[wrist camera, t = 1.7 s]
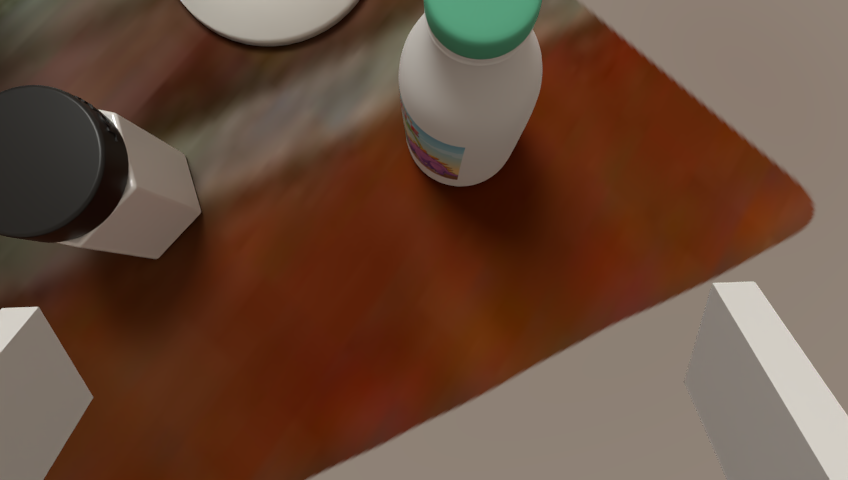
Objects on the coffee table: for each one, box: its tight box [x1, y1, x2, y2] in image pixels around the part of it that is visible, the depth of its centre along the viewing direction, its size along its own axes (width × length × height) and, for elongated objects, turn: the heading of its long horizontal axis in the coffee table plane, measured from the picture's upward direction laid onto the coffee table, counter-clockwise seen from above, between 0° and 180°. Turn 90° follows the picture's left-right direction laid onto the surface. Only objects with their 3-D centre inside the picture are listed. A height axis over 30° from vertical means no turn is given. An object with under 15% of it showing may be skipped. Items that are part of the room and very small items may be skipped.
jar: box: [0, 85, 201, 259], centre depth 36 cm, size 9×8×12 cm
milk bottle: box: [399, 0, 542, 186], centre depth 32 cm, size 8×8×20 cm
